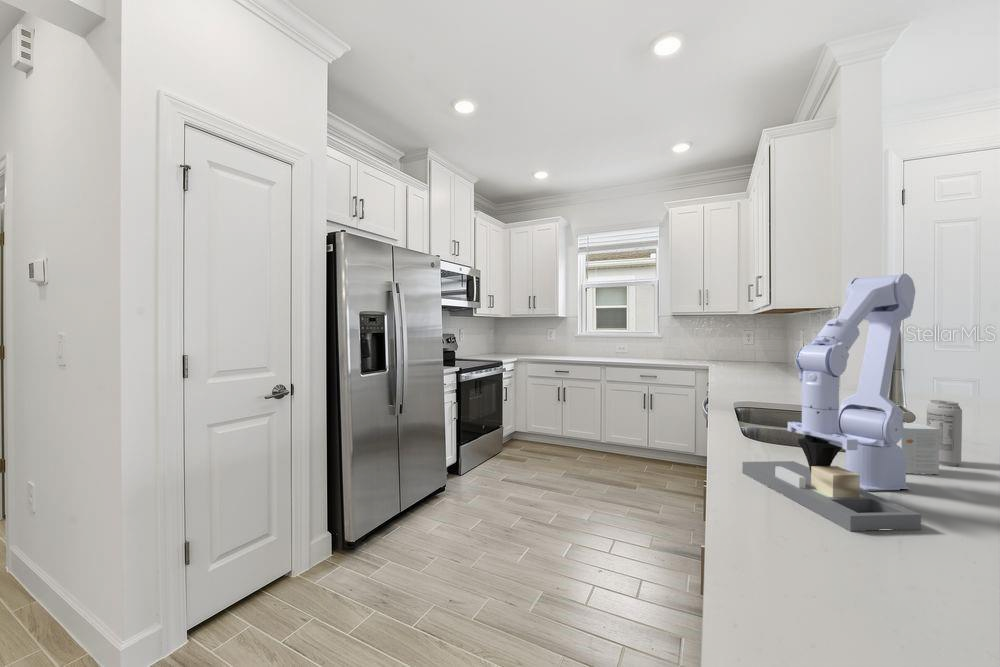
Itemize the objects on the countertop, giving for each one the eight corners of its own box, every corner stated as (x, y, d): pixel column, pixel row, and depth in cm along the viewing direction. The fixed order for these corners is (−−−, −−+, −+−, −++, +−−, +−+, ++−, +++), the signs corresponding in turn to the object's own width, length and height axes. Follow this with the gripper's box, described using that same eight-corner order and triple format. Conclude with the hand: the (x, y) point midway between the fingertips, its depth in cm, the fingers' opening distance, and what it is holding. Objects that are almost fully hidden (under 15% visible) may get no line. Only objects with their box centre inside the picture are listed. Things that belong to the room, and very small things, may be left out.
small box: (918, 467, 102) (918, 423, 102) (939, 475, 96) (940, 428, 96) (881, 466, 102) (882, 422, 102) (900, 474, 97) (901, 427, 97)
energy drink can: (968, 466, 103) (969, 403, 103) (948, 467, 101) (950, 404, 101) (937, 458, 109) (938, 399, 108) (919, 459, 107) (920, 400, 107)
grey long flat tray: (793, 472, 98) (793, 452, 98) (920, 529, 70) (921, 502, 70) (742, 472, 97) (742, 453, 97) (850, 531, 69) (850, 503, 69)
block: (836, 486, 82) (836, 465, 82) (859, 497, 77) (859, 474, 77) (810, 487, 81) (811, 466, 81) (832, 497, 76) (833, 475, 76)
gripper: (773, 400, 90) (773, 465, 90) (831, 414, 75) (830, 491, 75) (806, 400, 90) (805, 465, 90) (869, 414, 76) (868, 491, 76)
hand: (819, 477), depth 83 cm, fingers closed
